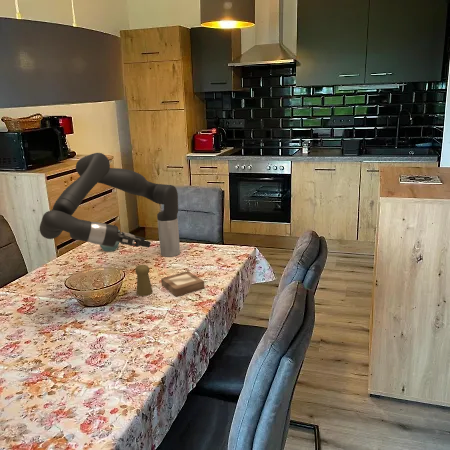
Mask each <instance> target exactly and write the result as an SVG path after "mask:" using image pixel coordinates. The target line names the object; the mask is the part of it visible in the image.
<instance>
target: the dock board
mask: <svg viewBox="0 0 450 450" xmlns="http://www.w3.org/2000/svg"><path fill="white" fill-rule="evenodd" d="M160 281H161V287H163V288H164V289H166V290H167V291H168V292H169V293H171V294H172V295H173V296H175V297H176V298H178V297H181V296H185V295H187V294H190V293H194V292H198V291H201V290H204V289H205V281H204V280H203V279H202V278H200V277H198V276H197V275H195V274H194V273H192V272H190V271H189V270H188V271H185V272H179V273H176V274H173V275H170V276H169V275H168V276H165V277H163V278H161V280H160Z"/></svg>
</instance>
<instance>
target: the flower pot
mask: <svg viewBox="0 0 450 450" xmlns="http://www.w3.org/2000/svg"><path fill="white" fill-rule="evenodd" d="M118 232H121V230H120V229H118ZM119 246H120V243H119V241H117V242H116V244H115V246H114V247H110V246H104V245H99V247H100V248H101V249H102V250H103V251H104V252H114V251H115V250H116V249H118V248H119Z"/></svg>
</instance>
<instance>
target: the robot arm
mask: <svg viewBox="0 0 450 450" xmlns="http://www.w3.org/2000/svg"><path fill="white" fill-rule="evenodd" d="M110 166H111V163H110V161H109V158H108V157H107V155H105V154H104V153H102V152H95V153H91V154H88V155H86V156H83V157H81V158H80V159H78V161H77V162H76V164H75V170H76V173H77V174H78V175H79V177H78V178H76V179H75V180H74V181H73V182H72V183H71V184H70V185H68V186H67V187H66V188H65V189H64V190H63V191H62V192H61V194H60V195H59V197H58V198H57V199H56V201H55V202H54V204H53V207H52V209H51V210H48V211H46V212H45V213H44V214H42V218H41V222H40V224H39V233H40V234H41V236H42V237H43V238H45V239H48V240H53V239H56V238H59V236H61V234H62V232H65V233H69V237H70V238H71V239H73V240H76V241H82V242H87V243H91V244H94V245H98V246H100V245H104V246H110V247H114V246H115V244H116V242H117V241H119V245H120V244H121V245H125V246H126V245H127V246H129V247H130V246H131V247H132V246H133V247H136V248H139V247H144V248H150V247H151V241H149V240H146V238H145V237H143V236H138V235H135V234H132V233H129V232H125V231H120V232H118V230H119V226H117V225H115V224H114V225H113V224H109V223H104V222H98V221H90V220H85V219H79V218H77V217H75V216H73V215H74V213H75V212H76V211H77V209H78V207H79V206H80V205H81V203H82V202H84V201H83V200H84V199H85V198H86V197H87V195H88V194H89V193H90V192H91V190H93V189H94V187H95V186H96V185H97V184H102V185H105V186H108V187H112V188H114V189H117V190H119V191H123V192H125V193H128V194H132V195H134V196H139V197H143V198H146V199H147V200H149V201H151V202H154V203H155V204H157V205H163V210H161V211H159V212H158V213H156V214H157V215H156V216H157V229H158V238H159V239H158V240H159V250H160V251H159V252H160V255H161V256H162V257H168V258H170V257H175V256H178V255H180V253H181V248H180V247H181V246H180V235H179V234H180V233H179V222H178V214H179V193H178V189H177V188H176V186H175V185H173V184H162V183H156V182H151V181H148V180H147V179H146V178H145V176H143V174H141V173H139V172H136V171H134V170H132V169H127V168H120V167H119V168H118V167H110Z"/></svg>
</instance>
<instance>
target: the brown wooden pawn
mask: <svg viewBox="0 0 450 450" xmlns="http://www.w3.org/2000/svg"><path fill="white" fill-rule="evenodd" d="M134 271H135V274H136V295H137V296H139V297H147V296H150V295H152V294H153V293H154V292H153V288H152V283H151V280H150V275H149V273H150V267H149V265H147V264H138V265H137V266H136V267H135V269H134Z"/></svg>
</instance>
